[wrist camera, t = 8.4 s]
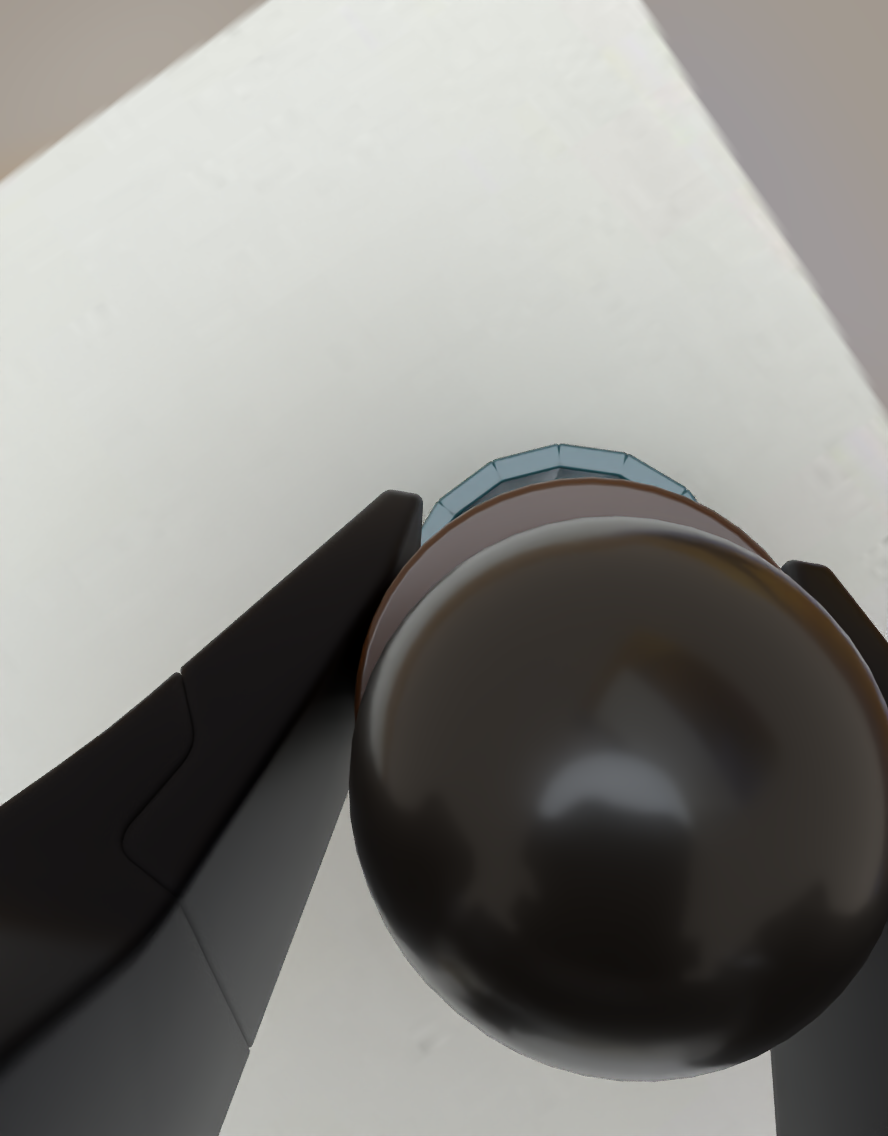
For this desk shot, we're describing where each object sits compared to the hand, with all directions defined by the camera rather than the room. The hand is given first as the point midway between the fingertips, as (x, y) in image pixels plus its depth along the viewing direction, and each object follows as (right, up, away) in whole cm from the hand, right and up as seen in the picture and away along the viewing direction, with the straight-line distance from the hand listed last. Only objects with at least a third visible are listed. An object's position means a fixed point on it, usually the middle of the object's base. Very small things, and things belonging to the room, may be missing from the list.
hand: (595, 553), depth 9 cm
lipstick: (0, -1, +7) cm, 7 cm away
